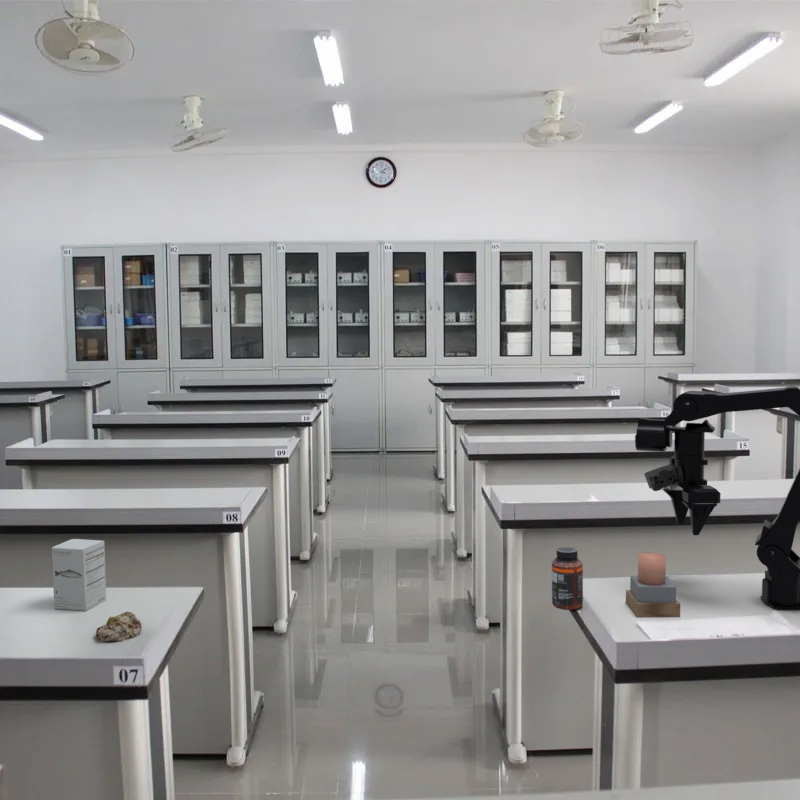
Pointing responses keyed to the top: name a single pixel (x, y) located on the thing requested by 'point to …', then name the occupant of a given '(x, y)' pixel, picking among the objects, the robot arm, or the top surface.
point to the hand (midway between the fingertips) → (687, 529)
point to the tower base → (652, 608)
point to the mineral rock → (119, 628)
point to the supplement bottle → (567, 579)
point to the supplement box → (79, 574)
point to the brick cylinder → (651, 568)
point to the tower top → (653, 591)
